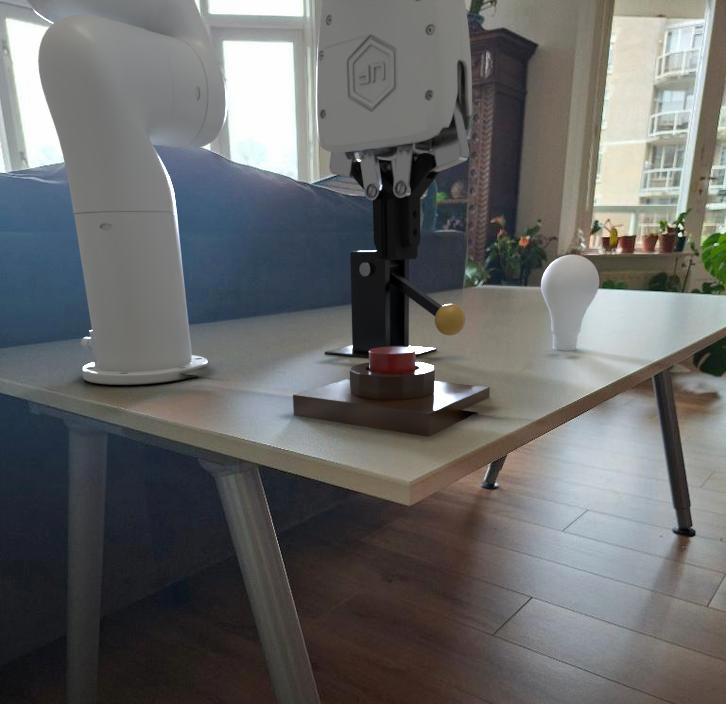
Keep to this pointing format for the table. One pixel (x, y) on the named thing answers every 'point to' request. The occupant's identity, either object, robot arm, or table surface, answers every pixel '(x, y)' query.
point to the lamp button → (392, 359)
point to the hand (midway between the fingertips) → (397, 258)
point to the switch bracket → (377, 307)
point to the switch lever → (430, 304)
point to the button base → (391, 400)
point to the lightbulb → (568, 297)
